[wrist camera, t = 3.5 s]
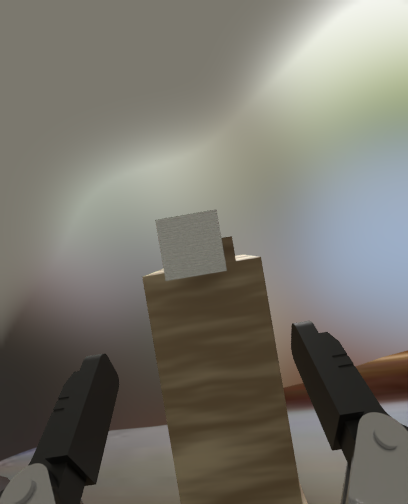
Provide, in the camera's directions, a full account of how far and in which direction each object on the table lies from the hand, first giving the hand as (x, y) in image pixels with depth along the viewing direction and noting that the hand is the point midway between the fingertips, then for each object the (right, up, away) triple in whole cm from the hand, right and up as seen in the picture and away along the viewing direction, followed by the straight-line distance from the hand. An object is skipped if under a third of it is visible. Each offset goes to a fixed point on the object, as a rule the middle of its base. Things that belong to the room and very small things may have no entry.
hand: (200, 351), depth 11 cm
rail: (0, +3, +18) cm, 19 cm away
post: (+5, -29, +21) cm, 36 cm away
